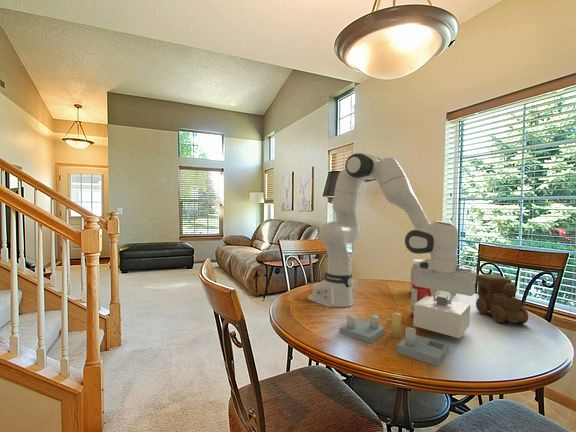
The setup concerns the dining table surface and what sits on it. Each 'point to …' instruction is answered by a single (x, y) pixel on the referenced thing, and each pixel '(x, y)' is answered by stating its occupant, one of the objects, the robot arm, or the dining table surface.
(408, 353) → the board
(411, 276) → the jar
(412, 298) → the soda can
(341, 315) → the dining table surface
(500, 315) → the wooden toy train
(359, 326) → the board
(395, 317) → the peg
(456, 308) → the cover
